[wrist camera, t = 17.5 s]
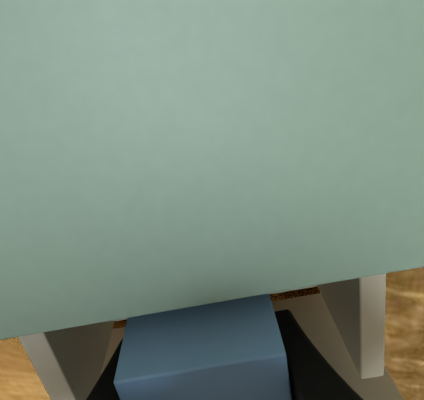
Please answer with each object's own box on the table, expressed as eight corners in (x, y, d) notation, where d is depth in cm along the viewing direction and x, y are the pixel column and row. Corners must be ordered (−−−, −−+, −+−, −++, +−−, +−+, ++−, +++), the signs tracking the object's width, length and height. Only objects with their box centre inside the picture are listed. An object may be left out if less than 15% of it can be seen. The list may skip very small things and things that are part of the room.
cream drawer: (345, 365, 21) (401, 492, 16) (126, 402, 22) (102, 539, 16) (335, 99, 15) (422, 149, 9) (26, 157, 15) (-71, 238, 10)
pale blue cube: (272, 346, 15) (300, 461, 11) (163, 364, 15) (154, 484, 11) (258, 255, 13) (286, 353, 9) (135, 276, 13) (112, 383, 9)
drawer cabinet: (344, 157, 17) (459, 262, 10) (45, 212, 17) (-62, 351, 10) (332, -189, 12) (551, -514, 5) (-83, -100, 12) (-473, -270, 5)
